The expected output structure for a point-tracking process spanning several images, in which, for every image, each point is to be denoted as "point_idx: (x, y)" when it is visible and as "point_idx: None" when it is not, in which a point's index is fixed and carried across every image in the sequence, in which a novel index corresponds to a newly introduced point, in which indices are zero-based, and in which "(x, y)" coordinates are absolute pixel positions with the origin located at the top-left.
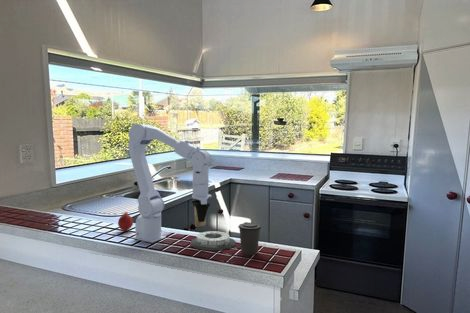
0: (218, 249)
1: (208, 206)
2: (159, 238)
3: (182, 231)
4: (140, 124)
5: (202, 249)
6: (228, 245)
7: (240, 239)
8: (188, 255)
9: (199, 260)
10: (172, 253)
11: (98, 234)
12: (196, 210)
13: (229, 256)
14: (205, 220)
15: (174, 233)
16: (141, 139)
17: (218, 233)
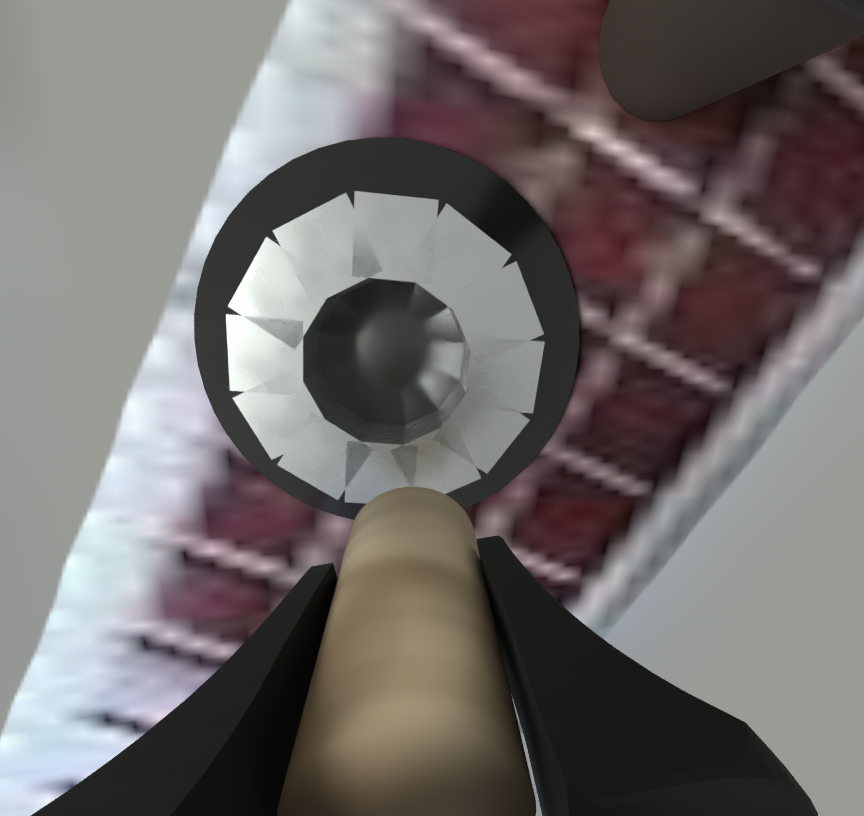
0: (574, 322)
1: (716, 713)
2: None
3: (82, 585)
4: None
5: (547, 438)
6: (483, 226)
7: (728, 79)
8: (634, 519)
9: (738, 454)
10: (581, 605)
11: None
12: (537, 791)
13: (719, 244)
14: (429, 521)
15: (149, 631)
16: None
17: (306, 310)
